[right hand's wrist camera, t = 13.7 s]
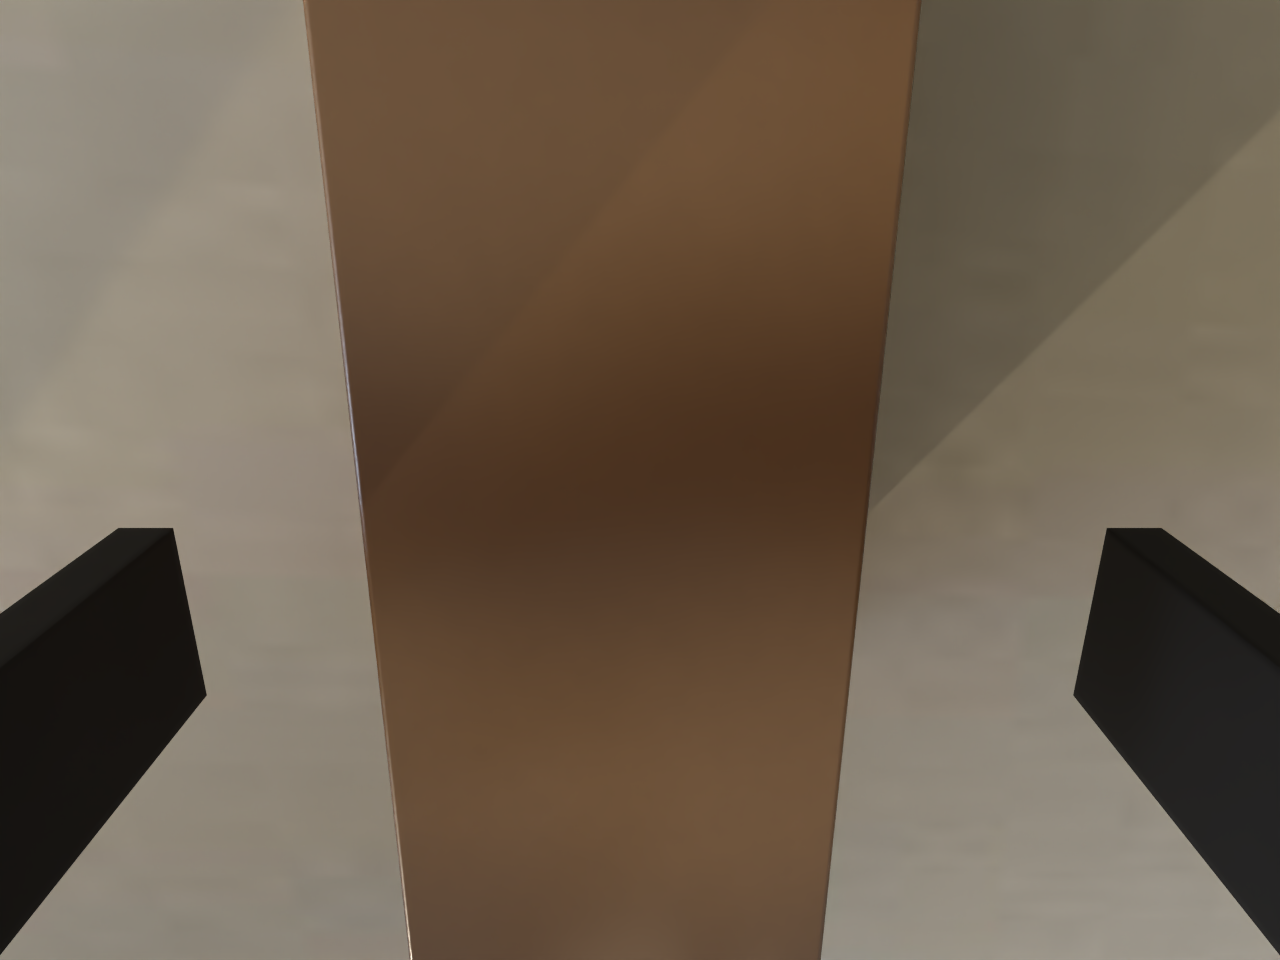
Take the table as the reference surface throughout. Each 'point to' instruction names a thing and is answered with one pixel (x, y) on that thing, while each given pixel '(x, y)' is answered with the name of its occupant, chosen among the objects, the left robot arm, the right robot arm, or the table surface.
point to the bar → (613, 447)
